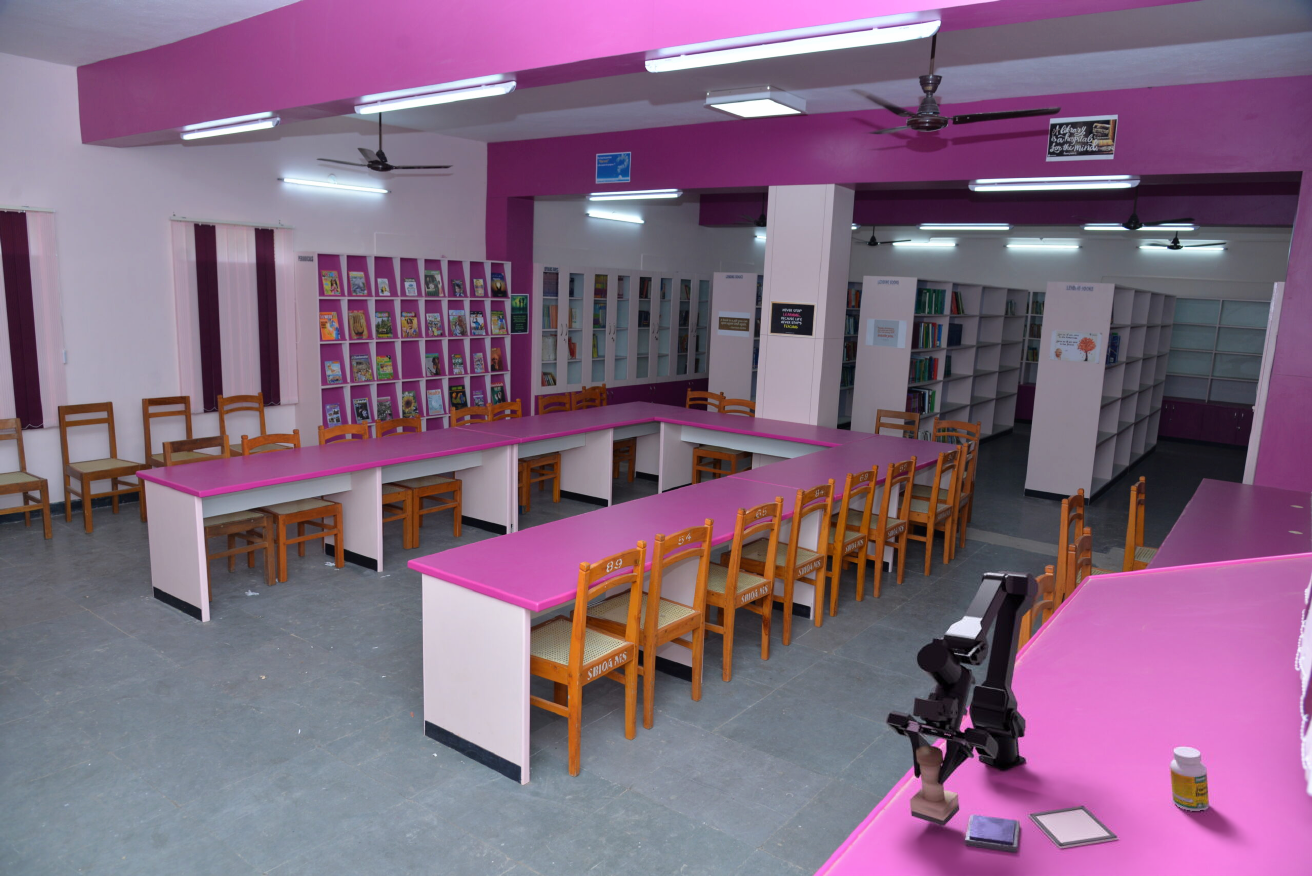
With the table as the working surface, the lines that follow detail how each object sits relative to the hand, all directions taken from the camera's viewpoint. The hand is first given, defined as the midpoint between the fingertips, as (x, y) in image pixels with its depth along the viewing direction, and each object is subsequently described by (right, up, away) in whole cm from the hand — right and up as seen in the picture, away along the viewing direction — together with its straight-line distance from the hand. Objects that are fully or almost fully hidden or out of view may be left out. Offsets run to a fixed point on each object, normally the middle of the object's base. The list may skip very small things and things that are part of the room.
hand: (928, 780), depth 145 cm
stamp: (+2, -6, +2) cm, 7 cm away
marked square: (+24, -7, -3) cm, 25 cm away
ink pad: (+10, -8, -3) cm, 13 cm away
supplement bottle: (+45, -4, -1) cm, 46 cm away
